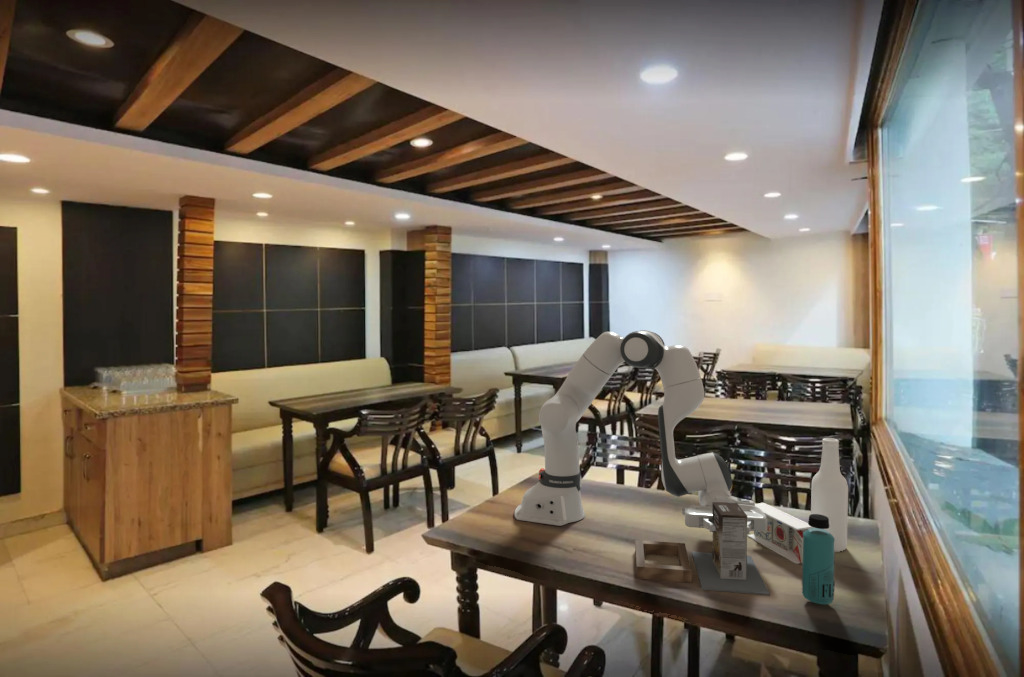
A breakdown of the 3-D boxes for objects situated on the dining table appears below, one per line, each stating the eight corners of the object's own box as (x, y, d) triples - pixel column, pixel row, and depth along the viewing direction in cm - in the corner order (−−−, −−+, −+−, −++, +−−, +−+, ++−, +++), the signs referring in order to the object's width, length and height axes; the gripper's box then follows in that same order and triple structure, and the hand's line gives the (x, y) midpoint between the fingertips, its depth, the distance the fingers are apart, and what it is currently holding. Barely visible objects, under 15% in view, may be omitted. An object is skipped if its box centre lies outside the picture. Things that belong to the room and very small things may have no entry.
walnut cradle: (636, 578, 139) (636, 566, 139) (635, 550, 155) (635, 539, 155) (691, 582, 137) (691, 570, 137) (684, 554, 152) (684, 543, 152)
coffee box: (711, 562, 147) (711, 501, 146) (737, 563, 146) (737, 501, 145) (720, 579, 137) (720, 514, 137) (747, 580, 137) (748, 515, 136)
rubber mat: (702, 589, 133) (702, 587, 133) (691, 553, 153) (691, 551, 153) (769, 595, 131) (769, 593, 130) (750, 557, 150) (750, 555, 150)
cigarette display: (746, 536, 164) (747, 504, 164) (762, 533, 166) (763, 502, 165) (800, 566, 145) (800, 530, 144) (817, 563, 147) (818, 528, 146)
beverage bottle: (822, 614, 122) (824, 524, 121) (794, 600, 128) (796, 514, 127) (840, 606, 125) (843, 518, 124) (812, 593, 131) (814, 509, 130)
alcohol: (812, 550, 154) (814, 441, 152) (808, 537, 162) (810, 434, 160) (849, 555, 151) (852, 444, 149) (843, 542, 159) (846, 437, 157)
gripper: (680, 497, 156) (686, 515, 142) (759, 501, 152) (773, 520, 138) (680, 519, 156) (686, 539, 142) (759, 524, 152) (772, 545, 138)
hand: (729, 530), depth 140 cm, fingers closed on coffee box, 6 cm apart
